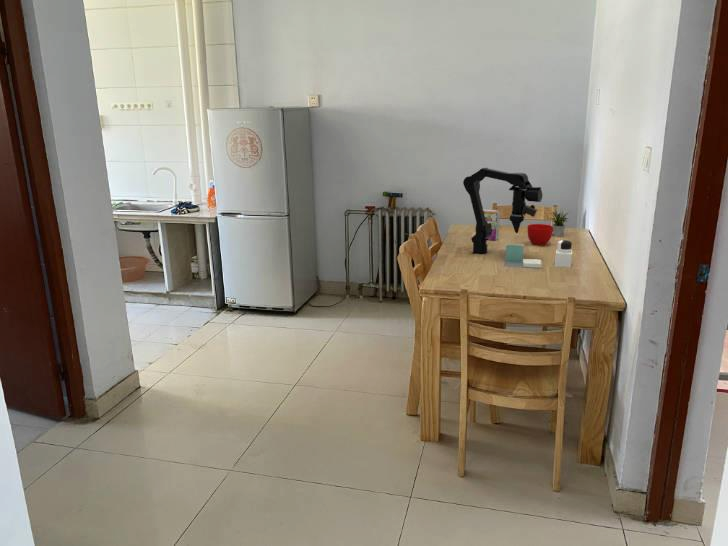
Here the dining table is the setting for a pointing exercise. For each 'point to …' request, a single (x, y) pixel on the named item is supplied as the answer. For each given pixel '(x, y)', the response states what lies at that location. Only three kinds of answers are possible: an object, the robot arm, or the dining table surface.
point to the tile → (514, 252)
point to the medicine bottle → (563, 254)
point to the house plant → (558, 223)
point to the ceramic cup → (539, 234)
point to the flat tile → (532, 263)
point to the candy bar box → (493, 222)
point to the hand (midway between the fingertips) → (516, 232)
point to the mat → (515, 264)
